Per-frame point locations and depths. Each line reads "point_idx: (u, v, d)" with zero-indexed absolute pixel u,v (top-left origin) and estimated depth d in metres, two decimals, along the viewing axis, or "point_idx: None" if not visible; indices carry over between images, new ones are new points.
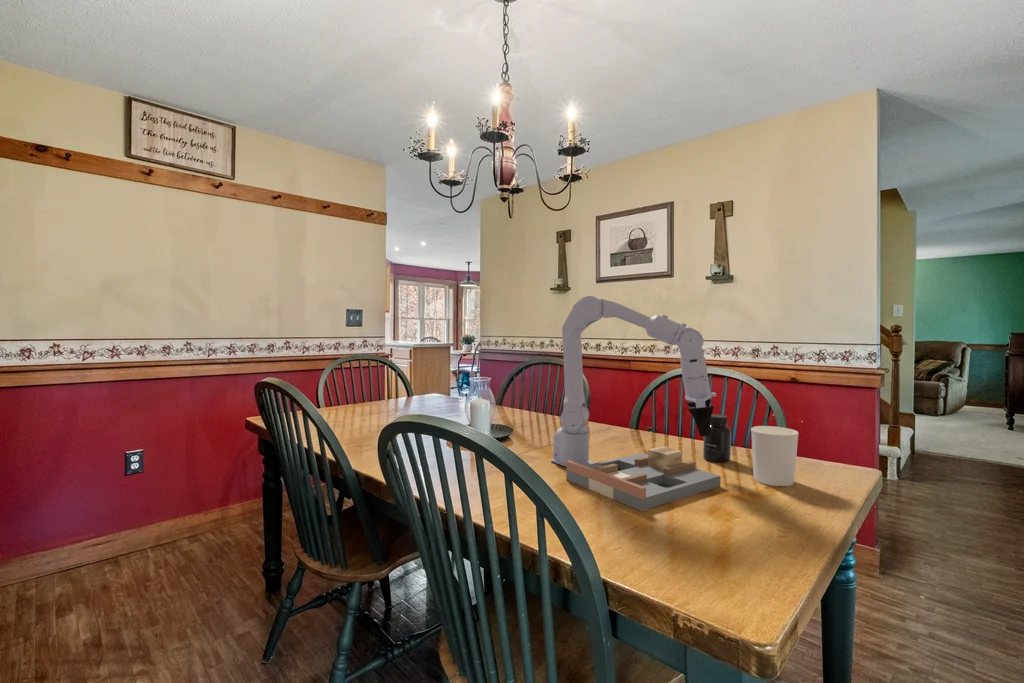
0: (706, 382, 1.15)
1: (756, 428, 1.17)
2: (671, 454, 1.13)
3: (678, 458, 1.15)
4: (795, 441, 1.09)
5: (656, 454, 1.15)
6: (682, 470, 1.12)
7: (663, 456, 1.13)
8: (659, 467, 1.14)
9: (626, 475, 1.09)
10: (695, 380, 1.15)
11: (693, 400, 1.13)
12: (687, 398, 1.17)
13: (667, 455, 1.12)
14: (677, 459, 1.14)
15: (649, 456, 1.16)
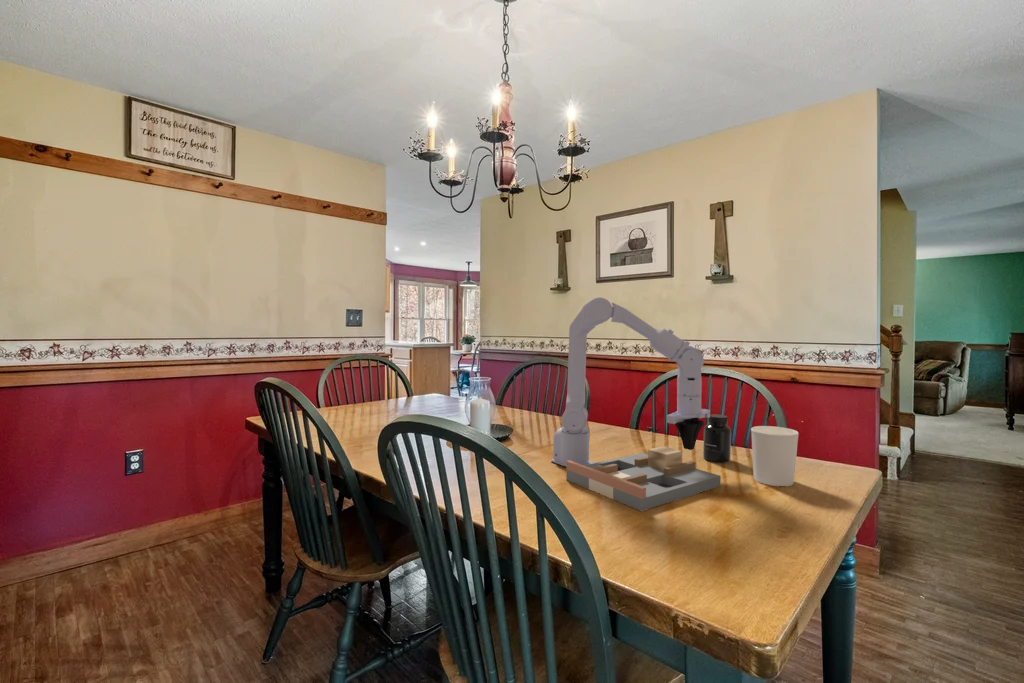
0: (692, 402, 1.18)
1: (756, 428, 1.17)
2: (671, 454, 1.13)
3: (678, 458, 1.15)
4: (795, 441, 1.09)
5: (656, 454, 1.15)
6: (682, 470, 1.12)
7: (663, 456, 1.13)
8: (659, 467, 1.14)
9: (626, 475, 1.09)
10: (681, 397, 1.19)
11: None
12: None
13: (667, 455, 1.12)
14: (677, 459, 1.14)
15: (649, 456, 1.16)
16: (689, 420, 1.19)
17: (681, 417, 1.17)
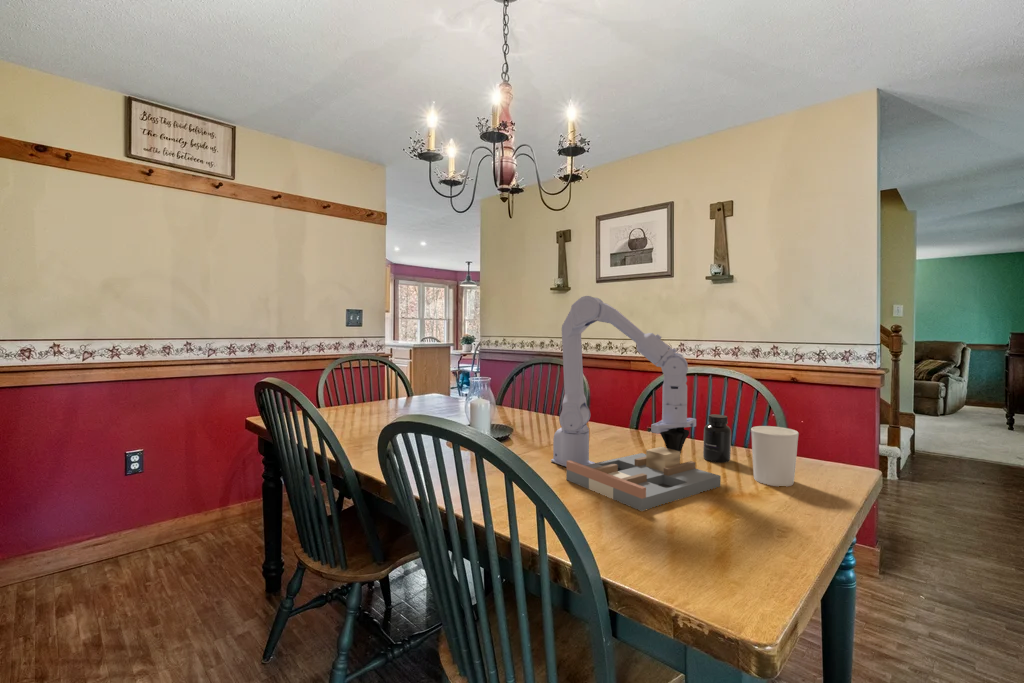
0: (677, 411, 1.15)
1: (756, 428, 1.17)
2: (669, 454, 1.13)
3: (676, 458, 1.14)
4: (795, 441, 1.09)
5: (654, 454, 1.14)
6: (682, 470, 1.12)
7: (662, 456, 1.12)
8: (657, 468, 1.14)
9: (626, 475, 1.09)
10: (666, 406, 1.16)
11: None
12: None
13: (666, 456, 1.12)
14: (675, 459, 1.14)
15: (648, 456, 1.16)
16: (674, 429, 1.16)
17: (666, 427, 1.14)
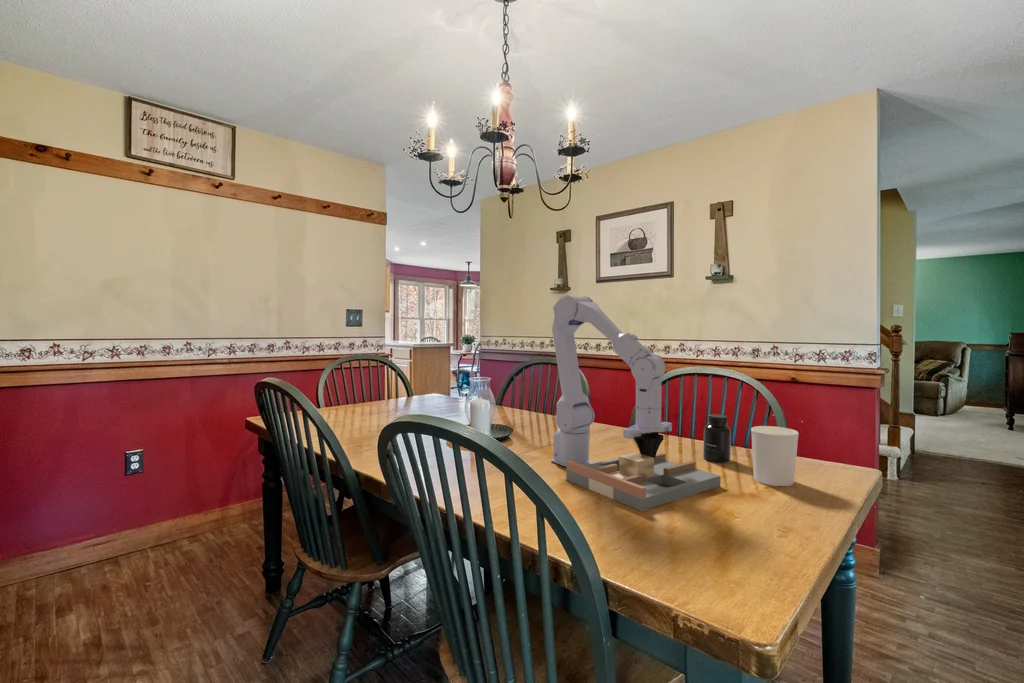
0: (650, 415, 1.09)
1: (756, 428, 1.17)
2: (642, 461, 1.07)
3: (650, 465, 1.09)
4: (795, 441, 1.09)
5: (627, 461, 1.09)
6: (682, 470, 1.12)
7: (634, 463, 1.07)
8: (630, 475, 1.08)
9: None
10: (639, 410, 1.11)
11: None
12: None
13: (638, 463, 1.07)
14: (649, 466, 1.09)
15: (620, 463, 1.11)
16: (648, 434, 1.11)
17: (638, 431, 1.09)
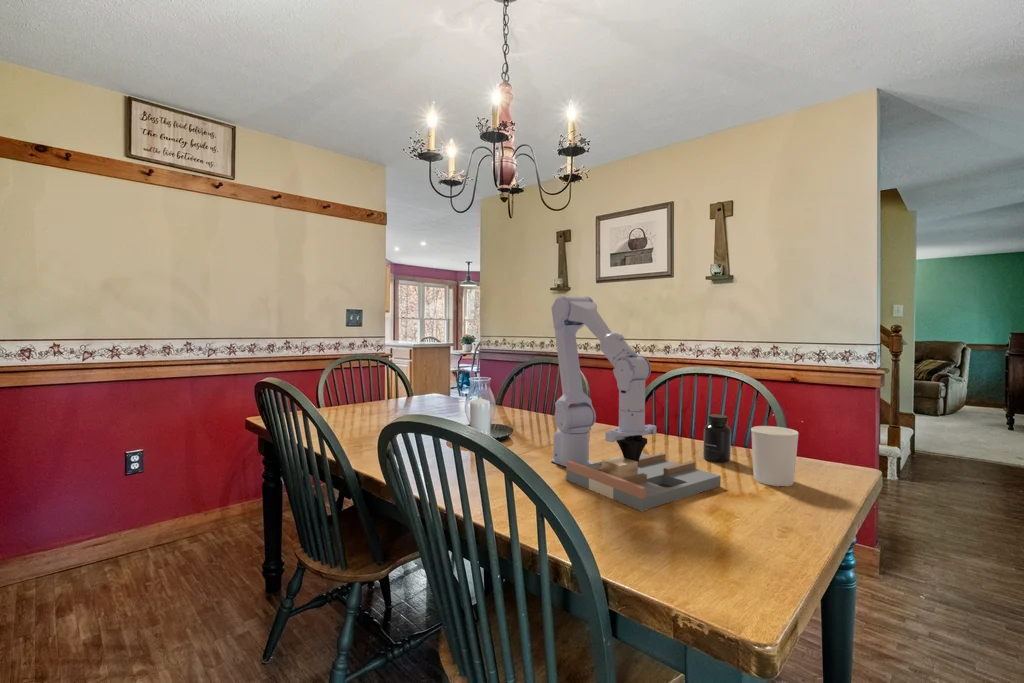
0: (633, 418, 1.06)
1: (756, 428, 1.17)
2: (625, 465, 1.04)
3: (633, 469, 1.06)
4: (795, 441, 1.09)
5: (610, 465, 1.06)
6: (682, 470, 1.12)
7: (617, 467, 1.04)
8: None
9: None
10: (622, 412, 1.08)
11: None
12: None
13: (621, 467, 1.04)
14: (632, 470, 1.06)
15: (603, 466, 1.07)
16: (631, 437, 1.08)
17: (621, 435, 1.05)
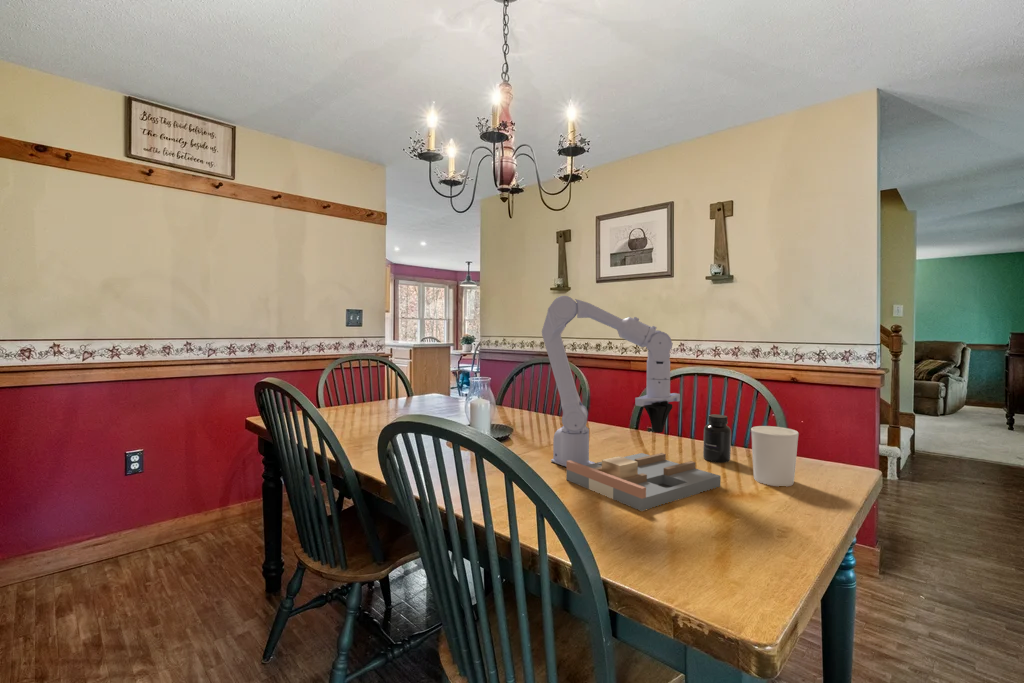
0: (660, 385, 1.19)
1: (756, 428, 1.17)
2: (625, 465, 1.04)
3: (633, 469, 1.06)
4: (795, 441, 1.09)
5: (610, 465, 1.06)
6: (682, 470, 1.12)
7: (617, 467, 1.04)
8: None
9: None
10: (650, 381, 1.21)
11: None
12: None
13: (621, 467, 1.04)
14: (632, 470, 1.06)
15: (603, 466, 1.07)
16: (658, 403, 1.21)
17: (649, 400, 1.18)
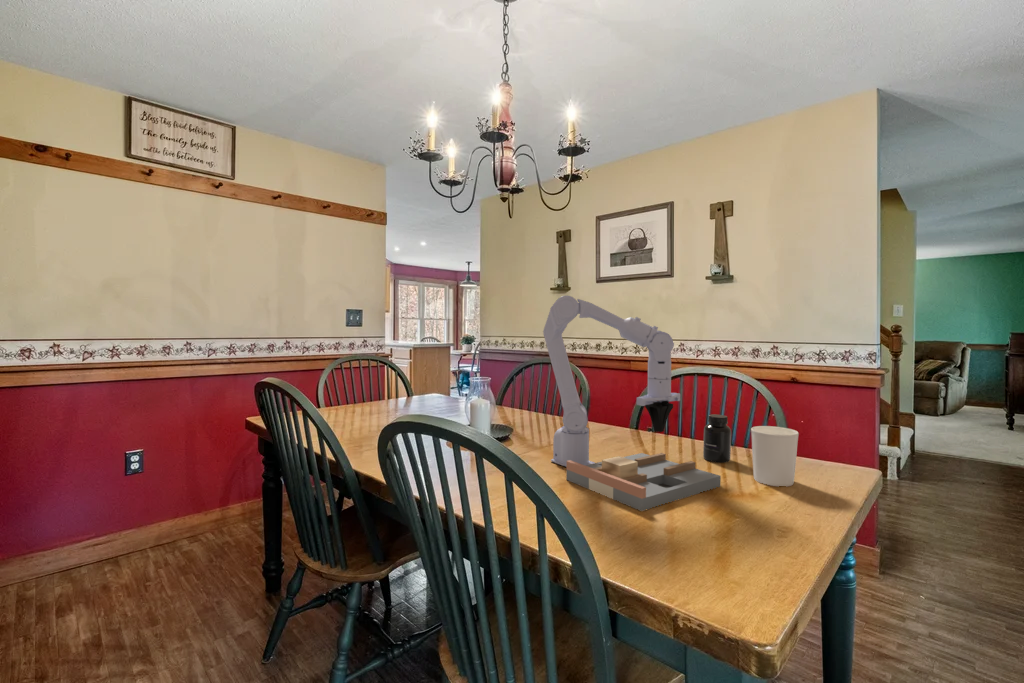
0: (661, 385, 1.20)
1: (756, 428, 1.17)
2: (625, 465, 1.04)
3: (633, 469, 1.06)
4: (795, 441, 1.09)
5: (610, 465, 1.06)
6: (682, 470, 1.12)
7: (617, 467, 1.04)
8: None
9: None
10: (651, 380, 1.22)
11: None
12: None
13: (621, 467, 1.04)
14: (632, 470, 1.06)
15: (603, 466, 1.07)
16: (659, 403, 1.22)
17: (650, 399, 1.19)
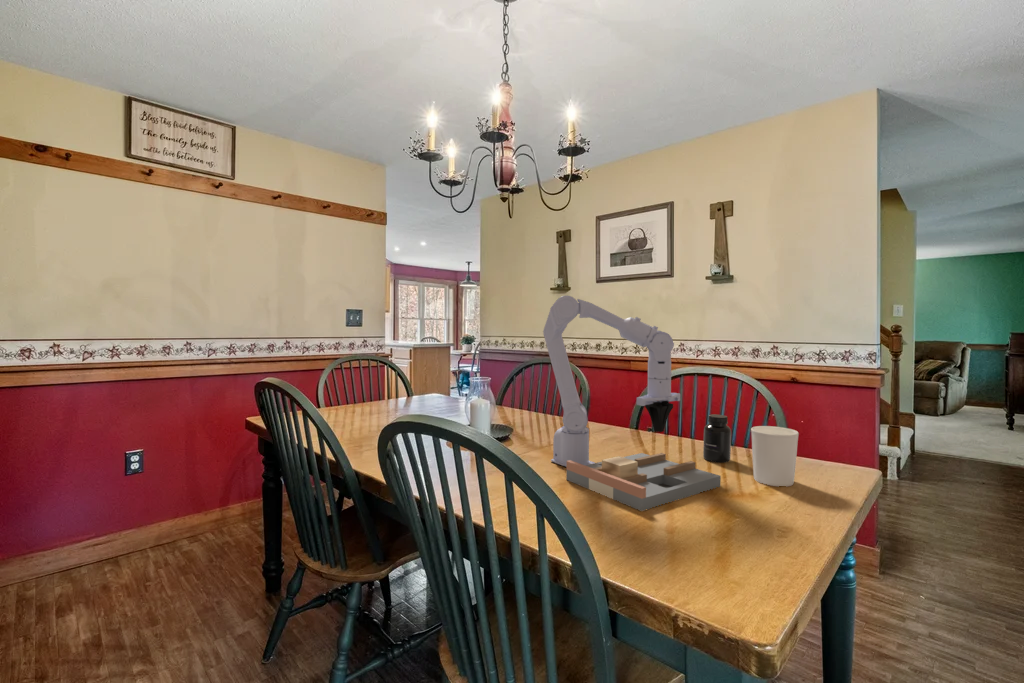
0: (661, 385, 1.20)
1: (756, 428, 1.17)
2: (625, 465, 1.04)
3: (633, 469, 1.06)
4: (795, 441, 1.09)
5: (610, 465, 1.06)
6: (682, 470, 1.12)
7: (617, 467, 1.04)
8: None
9: None
10: (651, 380, 1.22)
11: None
12: None
13: (621, 467, 1.04)
14: (632, 470, 1.06)
15: (603, 466, 1.07)
16: (659, 403, 1.22)
17: (650, 399, 1.19)
